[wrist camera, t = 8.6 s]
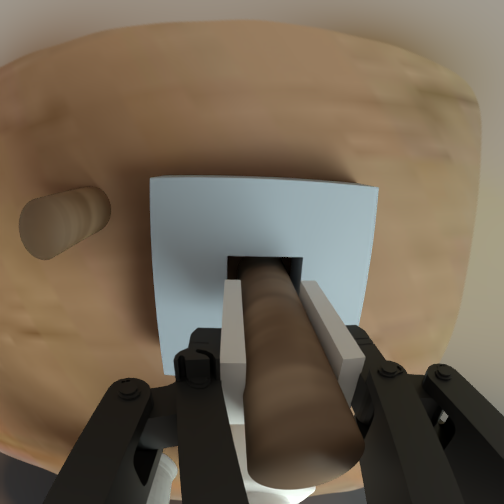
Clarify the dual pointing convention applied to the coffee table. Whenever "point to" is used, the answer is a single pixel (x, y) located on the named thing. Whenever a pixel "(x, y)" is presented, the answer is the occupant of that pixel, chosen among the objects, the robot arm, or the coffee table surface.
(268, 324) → the long pin
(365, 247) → the collar plate
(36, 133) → the coffee table surface
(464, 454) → the robot arm
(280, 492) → the medicine bottle
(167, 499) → the grey black mug
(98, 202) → the short pin
